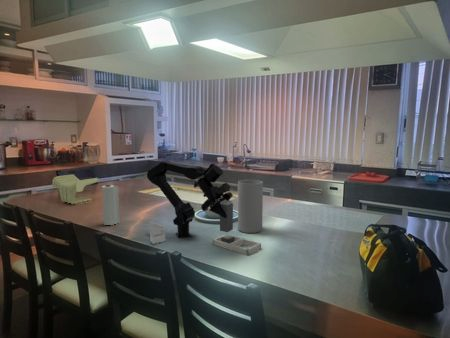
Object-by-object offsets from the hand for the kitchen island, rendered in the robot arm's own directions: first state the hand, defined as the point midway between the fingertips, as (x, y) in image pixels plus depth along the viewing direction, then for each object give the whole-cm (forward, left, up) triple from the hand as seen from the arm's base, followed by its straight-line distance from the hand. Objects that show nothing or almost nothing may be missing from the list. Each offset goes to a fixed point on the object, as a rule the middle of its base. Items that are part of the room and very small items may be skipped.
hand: (229, 216), depth 138 cm
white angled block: (-16, -29, -14) cm, 36 cm away
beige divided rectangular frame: (+2, +3, -13) cm, 14 cm away
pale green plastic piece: (-115, -71, -14) cm, 136 cm away
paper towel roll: (-51, -49, -14) cm, 72 cm away
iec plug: (-1, -1, -7) cm, 7 cm away
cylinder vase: (-16, +18, -14) cm, 28 cm away
